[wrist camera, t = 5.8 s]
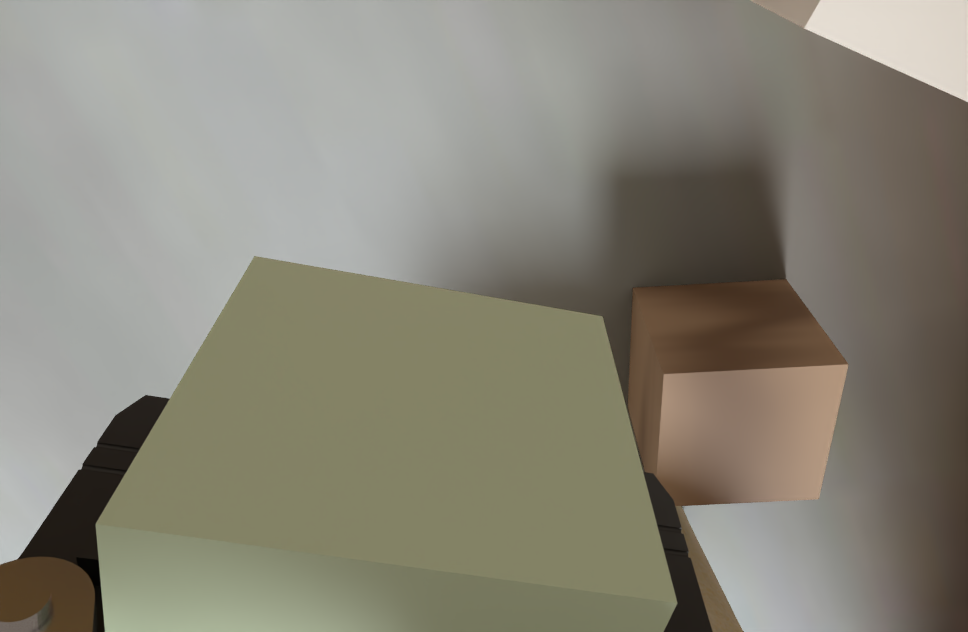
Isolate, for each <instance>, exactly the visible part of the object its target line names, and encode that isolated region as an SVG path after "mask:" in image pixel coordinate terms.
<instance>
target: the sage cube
mask: <svg viewBox="0 0 968 632" xmlns="http://www.w3.org/2000/svg"><path fill="white" fill-rule="evenodd" d="M96 535H97V547H98V558H99V569H100V581H101V592H102V603H103V615H104V626H105V632H664V630H665V628H666V626H667V624H668V622H669V620H670V618H671V615H672V613H673V611H674V609H675V607H676V605H677V599H676V596H675V592H674V588H673V584H672V580H671V576H670V573H669V569H668V565H667V561H666V557H665V553H664V550H663V546H662V542H661V538H660V534H659V530H658V527H657V523H656V519H655V515H654V511H653V508H652V504H651V500H650V496H649V492H648V488H647V485H646V481H645V477H644V473H643V469H642V465H641V462H640V458H639V454H638V450H637V446H636V443H635V439H634V435H633V431H632V427H631V423H630V420H629V416H628V412H627V408H626V404H625V400H624V397H623V393H622V389H621V385H620V381H619V378H618V374H617V370H616V366H615V362H614V358H613V355H612V351H611V347H610V343H609V339H608V335H607V332H606V328H605V324H604V320H603V316H598V315H593V314H587V313H581V312H575V311H569V310H564V309H558V308H552V307H546V306H540V305H535V304H529V303H523V302H517V301H511V300H506V299H500V298H494V297H488V296H482V295H477V294H471V293H465V292H459V291H453V290H448V289H442V288H436V287H430V286H424V285H419V284H413V283H407V282H401V281H395V280H390V279H384V278H378V277H372V276H366V275H361V274H355V273H349V272H343V271H337V270H332V269H326V268H320V267H314V266H308V265H303V264H297V263H291V262H285V261H279V260H274V259H268V258H262V257H256V256H254V258H253V260H252V262H251V263H250V265H249V267H248V268H247V270H246V272H245V273H244V275H243V277H242V278H241V280H240V282H239V283H238V285H237V287H236V288H235V290H234V292H233V293H232V295H231V297H230V299H229V300H228V302H227V304H226V305H225V307H224V309H223V310H222V312H221V314H220V315H219V317H218V319H217V320H216V322H215V324H214V325H213V327H212V329H211V331H210V332H209V334H208V336H207V337H206V339H205V341H204V342H203V344H202V346H201V347H200V349H199V351H198V352H197V354H196V356H195V357H194V359H193V361H192V362H191V364H190V366H189V368H188V369H187V371H186V373H185V374H184V376H183V378H182V379H181V381H180V383H179V384H178V386H177V388H176V389H175V391H174V393H173V394H172V396H171V398H170V400H169V401H168V403H167V405H166V406H165V408H164V410H163V411H162V413H161V415H160V416H159V418H158V420H157V421H156V423H155V425H154V426H153V428H152V430H151V431H150V433H149V435H148V437H147V438H146V440H145V442H144V443H143V445H142V447H141V448H140V450H139V452H138V453H137V455H136V457H135V458H134V460H133V462H132V463H131V465H130V467H129V468H128V470H127V472H126V474H125V475H124V477H123V479H122V480H121V482H120V484H119V485H118V487H117V489H116V490H115V492H114V494H113V495H112V497H111V499H110V500H109V502H108V504H107V506H106V507H105V509H104V511H103V512H102V514H101V516H100V517H99V519H98V521H97V522H96Z"/></svg>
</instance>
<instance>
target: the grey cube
mask: <svg viewBox="0 0 968 632" xmlns="http://www.w3.org/2000/svg"><path fill="white" fill-rule="evenodd" d="M751 1H753V2H755V3H756V4H758V5H760V6H762V7H764V8H766V9H768V10H770V11H772V12H774V13H776V14H778V15H780V16H781V17H783V18H785V19H787V20H789V21H791V22H793V23H795V24H797V25H799V26H801V27H803V28H805V29H807V30H809V31H811V32H814V33H816V34H818V35H820V36H822V37H825V38H827V39H829V40H831V41H834V42H836V43H838V44H840V45H842V46H845V47H847V48H849V49H851V50H854V51H856V52H858V53H860V54H862V55H865V56H867V57H869V58H871V59H873V60H876V61H878V62H880V63H882V64H885V65H887V66H889V67H891V68H893V69H896V70H898V71H900V72H902V73H905V74H907V75H909V76H911V77H913V78H916V79H918V80H920V81H922V82H925V83H927V84H929V85H931V86H933V87H936V88H938V89H940V90H942V91H945V92H947V93H949V94H951V95H953V96H956V97H958V98H960V99H962V100H965V101H967V102H968V0H751Z"/></svg>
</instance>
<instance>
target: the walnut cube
mask: <svg viewBox="0 0 968 632" xmlns="http://www.w3.org/2000/svg"><path fill="white" fill-rule="evenodd" d="M848 365H849V364H848V363H847V362H846V360H845V359H844V357H843V356H842V355H841V353H840V352H839V351H838V349H837V348H836V347H835V345H834V344H833V342H832V341H831V340H830V338H829V337H828V336H827V334H826V333H825V332H824V330H823V329H822V327H821V326H820V325H819V323H818V322H817V321H816V319H815V318H814V317H813V315H812V314H811V312H810V311H809V310H808V308H807V307H806V306H805V304H804V303H803V302H802V300H801V299H800V297H799V296H798V295H797V293H796V292H795V291H794V289H793V288H792V287H791V285H790V284H789V282H788V281H787V280H786V279H780V280H762V281H744V282H727V283H709V284H691V285H673V286H655V287H637V288H633V296H632V319H631V343H630V367H629V390H628V411H629V415H630V419H631V422H632V426H633V430H634V433H635V437H636V441H637V445H638V448H639V452H640V456H641V459H642V463H643V467H644V471H645V472H648V473H653V474H654V475H655V477H656V478H657V479H658V480H659V482H660V483H661V484H662V486H663V487H664V488H665V490H666V491H667V492H668V493H669V495H670V496H671V497H672V499H673V500H674V503H675V506H689V505H709V504H730V503H751V502H771V501H792V500H812V499H819V496H820V491H821V486H822V482H823V477H824V473H825V468H826V464H827V459H828V455H829V450H830V446H831V441H832V437H833V432H834V428H835V423H836V419H837V414H838V410H839V405H840V401H841V396H842V392H843V387H844V383H845V378H846V374H847V369H848Z"/></svg>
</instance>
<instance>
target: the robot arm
mask: <svg viewBox="0 0 968 632" xmlns="http://www.w3.org/2000/svg"><path fill="white" fill-rule="evenodd" d="M169 400H170V399H168V398H161V397H155V396H148V395H145V396H144V397H142V398H141V399H139V400H138V401H136V402H135V403H133V404H132V405H130V406H129V407H127V408H126V409H124V410H123V411H121V412H120V413H118V414H117V415H116V416H115V417H114V418H113V420H112V421H111V423H110V424H109V426H108V427H107V429H106V430H105V432H104V433H103V435H102V436H101V438H100V439H99V441H98V443H97V447H96V448H95V447H94V448H93V449H92V451H91V452H90V454H89V455H88V457H87V458H86V460H85V461H84V463H83V466H82V469H81V470H78V472H77V473H76V475H75V476H74V478H73V479H72V481H71V482H70V484H69V485H68V486H67V488H66V489H65V491H64V492H63V494H62V495H61V497H60V498H59V500H58V501H57V503H56V504H55V506H54V507H53V509H52V510H51V512H50V513H49V515H48V516H47V518H46V519H45V521H44V522H43V523H42V525H41V526H40V528H39V529H38V531H37V532H36V534H35V535H34V537H33V538H32V540H31V541H30V543H29V544H28V546H27V547H26V549H25V550H24V552H23V553H22V554H21V556H20V557H19V558H18V559H17V560H14V561H10V562H7V563H4V564H1V565H0V632H105V626H104V615H103V603H102V592H101V581H100V569H99V558H98V547H97V535H96V522H97V521H98V519H99V517H100V516H101V514H102V512H103V511H104V509H105V507H106V506H107V504H108V502H109V500H110V499H111V497H112V495H113V494H114V492H115V490H116V489H117V487H118V485H119V484H120V482H121V480H122V479H123V477H124V475H125V474H126V472H127V470H128V468H129V467H130V465H131V463H132V462H133V460H134V458H135V457H136V455H137V453H138V452H139V450H140V448H141V447H142V445H143V443H144V442H145V440H146V438H147V437H148V435H149V433H150V431H151V430H152V428H153V426H154V425H155V423H156V421H157V420H158V418H159V416H160V415H161V413H162V411H163V410H164V408H165V406H166V405H167V403H168V401H169ZM643 473H644V477H645V481H646V485H647V488H648V492H649V496H650V500H651V504H652V508H653V511H654V515H655V519H656V523H657V527H658V530H659V534H660V538H661V542H662V546H663V550H664V553H665V557H666V561H667V565H668V569H669V573H670V576H671V580H672V584H673V588H674V592H675V596H676V599H677V605H676V607H675V609H674V611H673V613H672V615H671V618H670V620H669V622H668V624H667V626H666V628H665V630H664V632H713V631H712V628H711V624H710V621H709V618H708V614H707V611H706V608H705V604H704V601H703V597H702V594H701V591H700V587H699V584H698V581H697V577H696V574H695V571H694V567H693V564H692V560H691V558H689V557H688V553H689V550H688V547H687V544H686V540H685V537H684V534H681V530H682V527H681V524H680V520H679V517H678V513H677V510H676V507H675V503H674V500H673V499H672V497H671V496H670V495H669V493H668V492H667V491H666V490H665V488H664V487H663V486H662V484H661V483H660V482H659V480H658V479H657V478H656V477H655V475H654V474H653V473H648V472H643Z"/></svg>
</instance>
